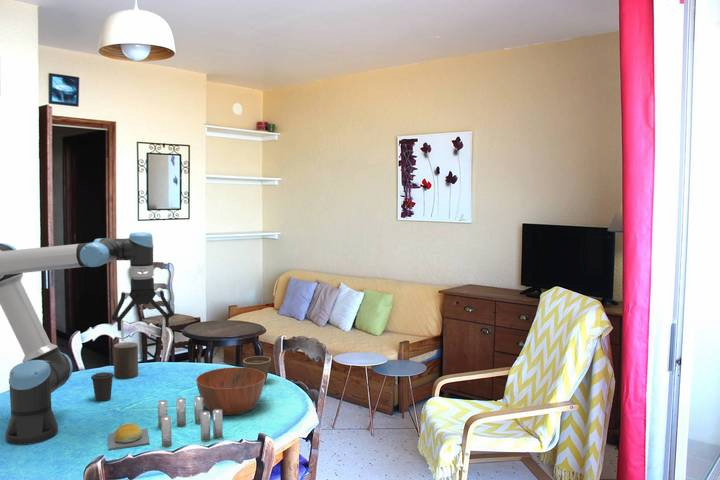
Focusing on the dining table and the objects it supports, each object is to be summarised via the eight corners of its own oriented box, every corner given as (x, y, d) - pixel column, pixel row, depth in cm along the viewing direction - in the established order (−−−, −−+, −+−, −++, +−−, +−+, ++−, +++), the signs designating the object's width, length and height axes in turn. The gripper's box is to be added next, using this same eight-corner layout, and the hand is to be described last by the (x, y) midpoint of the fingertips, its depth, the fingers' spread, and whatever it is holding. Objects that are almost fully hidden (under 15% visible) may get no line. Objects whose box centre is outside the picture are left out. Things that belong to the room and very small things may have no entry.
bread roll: (114, 445, 191) (114, 433, 190) (115, 434, 199) (114, 422, 199) (142, 441, 194) (142, 429, 193) (142, 430, 202) (141, 419, 202)
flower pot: (237, 384, 252) (237, 360, 251) (256, 377, 261) (256, 354, 260) (257, 389, 246) (257, 365, 245) (276, 382, 255) (276, 358, 254)
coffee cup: (92, 396, 236) (91, 371, 235) (115, 394, 238) (114, 369, 237) (90, 404, 228) (89, 377, 227) (113, 401, 230) (113, 375, 230)
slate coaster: (108, 450, 189) (108, 448, 189) (108, 435, 200) (108, 433, 200) (149, 444, 193) (149, 442, 193) (147, 430, 204) (147, 428, 204)
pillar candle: (123, 381, 255) (123, 345, 253) (109, 376, 260) (108, 342, 259) (143, 375, 263) (142, 341, 261) (128, 371, 268) (128, 337, 267)
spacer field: (162, 447, 191) (161, 419, 190) (158, 426, 207) (157, 400, 207) (223, 438, 198) (223, 411, 197) (214, 418, 215) (214, 394, 214)
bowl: (183, 407, 225) (182, 377, 224) (239, 391, 243) (238, 363, 242) (222, 426, 208) (222, 393, 207) (279, 407, 226) (279, 377, 225)
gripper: (102, 281, 202) (104, 344, 204) (181, 277, 211) (182, 337, 213) (102, 277, 209) (104, 338, 210) (178, 274, 218) (179, 332, 220)
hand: (143, 338), depth 212 cm, fingers open, 13 cm apart
